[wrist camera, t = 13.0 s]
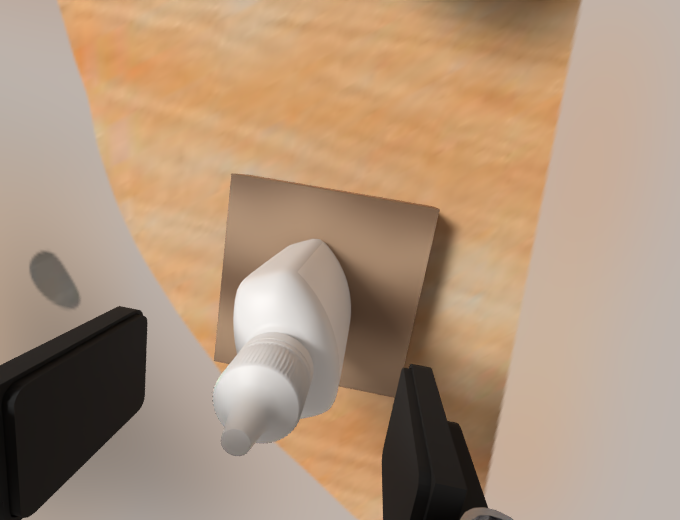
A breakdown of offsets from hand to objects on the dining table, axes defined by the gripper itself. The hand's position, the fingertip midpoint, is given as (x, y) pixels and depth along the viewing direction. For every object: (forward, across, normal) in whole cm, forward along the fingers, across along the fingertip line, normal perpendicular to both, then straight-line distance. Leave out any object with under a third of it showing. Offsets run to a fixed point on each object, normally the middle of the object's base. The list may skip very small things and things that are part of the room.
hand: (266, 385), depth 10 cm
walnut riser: (+12, 0, 0) cm, 12 cm away
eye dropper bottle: (+10, 0, 0) cm, 10 cm away
